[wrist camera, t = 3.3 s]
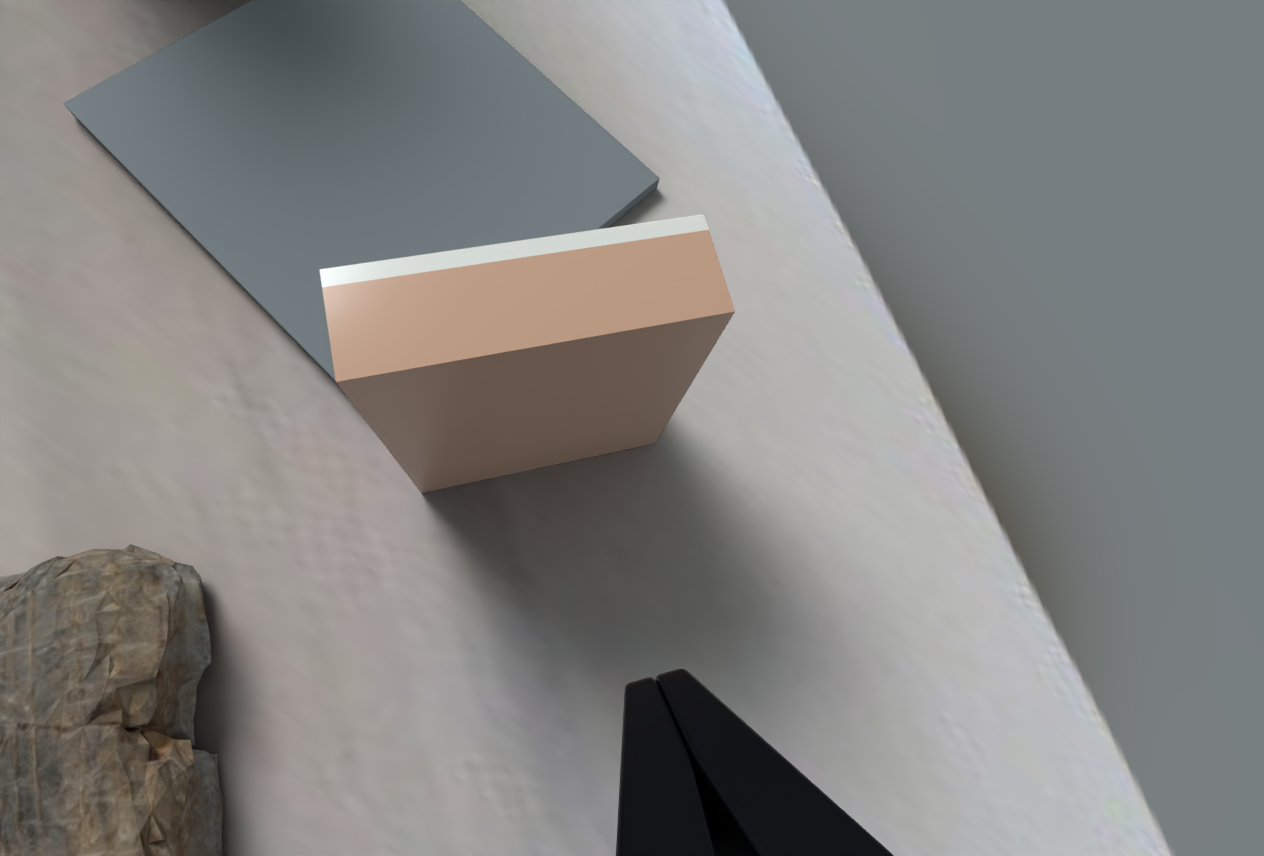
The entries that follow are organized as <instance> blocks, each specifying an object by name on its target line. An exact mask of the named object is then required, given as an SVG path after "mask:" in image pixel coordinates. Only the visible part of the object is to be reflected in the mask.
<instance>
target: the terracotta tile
mask: <svg viewBox="0 0 1264 856" xmlns="http://www.w3.org/2000/svg"><path fill="white" fill-rule="evenodd" d="M319 270H320V277H321V284H322V291H323V298H324V304H325V311H326V318H327V325H328V332H329V339H330V346H331V353H332V360H333V366H334V373H335V380H336V383H337V384H338V385H339V387H340V388H341V389H342V391H343V392H344V393H345V395H346V396H347V397H348V398H349V400H350V401H351V402H352V404H353V405H354V406H355V408H356V409H357V410H358V411H359V413H360V414H361V415H362V417H363V418H364V419H365V421H366V422H367V423H368V424H369V426H370V427H371V428H372V430H373V431H374V432H375V433H376V435H377V436H378V437H379V439H380V440H381V441H382V443H383V444H384V445H385V446H386V448H387V449H388V450H389V452H390V453H391V454H392V456H393V457H394V458H395V459H396V461H397V462H398V463H399V465H400V466H401V467H402V469H403V470H404V471H405V472H406V474H407V475H408V476H409V478H410V479H411V480H412V482H413V483H414V484H415V485H416V487H417V488H418V489H419V491H420V492H421V493H424V492H429V491H434V490H438V489H443V488H448V487H453V486H457V485H462V484H467V483H471V482H476V481H481V480H485V479H490V478H495V477H500V476H504V475H509V474H514V473H518V472H523V471H528V470H532V469H537V468H542V467H546V466H551V465H556V464H561V463H565V462H570V461H575V460H579V459H584V458H589V457H593V456H598V455H603V454H608V453H612V452H617V451H622V450H626V449H631V448H636V447H640V446H645V445H650V444H654V443H656V441H657V440H658V438H659V436H660V435H661V433H662V431H663V430H664V428H665V426H666V425H667V423H668V421H669V420H670V418H671V416H672V415H673V413H674V411H675V410H676V408H677V407H678V405H679V403H680V402H681V400H682V398H683V397H684V395H685V393H686V392H687V390H688V388H689V387H690V385H691V383H692V382H693V380H694V378H695V377H696V375H697V373H698V372H699V370H700V368H701V367H702V365H703V363H704V362H705V360H706V359H707V357H708V355H709V354H710V352H711V350H712V349H713V347H714V345H715V344H716V342H717V340H718V339H719V337H720V335H721V334H722V332H723V330H724V329H725V327H726V325H727V324H728V322H729V320H730V319H731V317H732V315H733V314H734V312H735V310H734V307H733V304H732V301H731V298H730V295H729V292H728V288H727V285H726V282H725V279H724V276H723V273H722V270H721V267H720V264H719V261H718V257H717V254H716V251H715V248H714V245H713V242H712V239H711V236H710V233H709V229H708V226H707V223H706V220H705V217H704V214H700V215H694V216H687V217H680V218H673V219H666V220H659V221H652V222H645V223H638V224H631V225H624V226H617V227H610V228H603V229H596V230H589V231H583V232H576V233H569V234H562V235H555V236H548V237H541V238H534V239H527V240H520V241H513V242H506V243H499V244H492V245H485V246H479V247H472V248H465V249H458V250H451V251H444V252H437V253H430V254H423V255H416V256H409V257H402V258H395V259H388V260H381V261H374V262H368V263H361V264H354V265H347V266H340V267H333V268H326V269H319Z"/></svg>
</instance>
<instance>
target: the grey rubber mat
mask: <svg viewBox="0 0 1264 856" xmlns="http://www.w3.org/2000/svg"><path fill="white" fill-rule="evenodd" d="M63 104H64V105H65V106H66V107H67V108H68V110H69V111H70V112H71V113H72V114H73V115H74V116H75V117H76V118H77V119H78V120H79V121H80V122H81V123H82V125H83V126H84V127H85V128H86V129H87V130H88V131H89V132H90V133H91V134H92V135H93V136H94V137H95V138H96V139H97V140H98V141H99V142H100V143H101V144H102V145H103V146H104V147H105V148H106V149H107V150H108V151H109V152H110V153H111V154H112V155H113V156H114V157H115V158H116V159H117V160H118V161H119V162H120V163H121V164H122V165H123V166H124V167H125V168H126V169H127V170H128V171H129V172H130V173H131V174H132V175H133V176H134V177H135V178H136V179H137V180H138V181H139V182H140V183H141V185H142V186H143V187H144V188H145V189H146V190H147V191H148V192H149V193H150V194H151V195H152V196H153V197H154V198H155V199H156V200H157V201H158V202H159V203H160V204H161V205H162V206H163V207H164V208H165V209H166V210H167V211H168V212H169V213H170V214H171V215H172V216H173V217H174V218H175V219H176V220H177V221H178V222H179V223H180V224H181V225H182V226H183V227H184V228H185V229H186V230H187V231H188V232H189V233H190V234H191V235H192V236H193V237H194V238H195V239H196V240H197V241H198V242H199V243H200V244H201V246H202V247H203V248H204V249H205V250H206V251H207V252H208V253H209V254H210V255H211V256H212V257H213V258H214V259H215V260H216V261H217V262H218V263H219V264H220V265H221V266H222V267H223V268H224V269H225V270H226V271H227V272H228V273H229V274H230V275H231V276H232V277H233V278H234V279H235V280H236V281H237V282H238V283H239V284H240V285H241V286H242V287H243V288H244V289H245V290H246V291H247V292H248V293H249V294H250V295H251V296H252V297H253V298H254V299H255V300H256V301H257V302H258V303H259V304H260V305H261V307H262V308H263V309H264V310H265V311H266V312H267V313H268V314H269V315H270V316H271V317H272V318H273V319H274V320H275V321H276V322H277V323H278V324H279V325H280V326H281V327H282V328H283V329H284V330H285V331H286V332H287V333H288V334H289V335H290V336H291V337H292V338H293V339H294V340H295V341H296V342H297V343H298V344H299V345H300V346H301V347H302V348H303V349H304V350H305V351H306V352H307V353H308V354H309V355H310V356H311V357H312V358H313V359H314V360H315V361H316V362H317V363H318V364H319V365H320V366H321V368H322V369H323V370H324V371H325V372H326V373H327V374H328V375H329V376H330V377H331V378H332V379H333V380H334V381H335V382H336V380H335V373H334V366H333V360H332V353H331V346H330V339H329V332H328V325H327V318H326V311H325V304H324V298H323V291H322V284H321V277H320V270H319V269H326V268H333V267H340V266H347V265H354V264H361V263H368V262H374V261H381V260H388V259H395V258H402V257H409V256H416V255H423V254H430V253H437V252H444V251H451V250H458V249H465V248H472V247H479V246H485V245H492V244H499V243H506V242H513V241H520V240H527V239H534V238H541V237H548V236H555V235H562V234H569V233H576V232H583V231H589V230H596V229H603V228H609V227H610V226H611V225H612V224H614V223H615V222H616V221H617V220H618V219H620V218H621V217H622V216H623V215H625V214H626V213H627V212H628V211H629V210H631V209H632V208H633V207H634V206H635V205H637V204H638V203H639V202H640V201H642V200H643V199H644V198H645V197H646V196H648V195H649V194H650V193H651V192H652V191H654V190H655V189H656V188H657V185H658V182H659V177H658V176H657V175H655V174H654V173H653V172H652V171H651V170H650V169H649V168H648V167H647V166H645V165H644V164H643V163H642V162H641V161H640V160H639V159H638V158H636V157H635V156H634V155H633V154H632V153H631V152H630V151H629V150H627V149H626V148H625V147H624V146H623V145H622V144H621V143H620V142H618V141H617V140H616V139H615V138H614V137H613V136H612V135H611V134H610V133H608V132H607V131H606V130H605V129H604V128H603V127H602V126H601V125H599V124H598V123H597V122H596V121H595V120H594V119H593V118H592V117H590V116H589V115H588V114H587V113H586V112H585V111H584V110H583V109H582V108H580V107H579V106H578V105H577V104H576V103H575V102H574V101H573V100H571V99H570V98H569V97H568V96H567V95H566V94H565V93H564V92H562V91H561V90H560V89H559V88H558V87H557V86H556V85H555V84H553V83H552V82H551V81H550V80H549V79H548V78H547V77H546V76H545V75H543V74H542V73H541V72H540V71H539V70H538V69H537V68H536V67H534V66H533V65H532V64H531V63H530V62H529V61H528V60H527V59H525V58H524V57H523V56H522V55H521V54H520V53H519V52H518V51H516V50H515V49H514V48H513V47H512V46H511V45H510V44H509V43H508V42H506V41H505V40H504V39H503V38H502V37H501V36H500V35H499V34H497V33H496V32H495V31H494V30H493V29H492V28H491V27H490V26H488V25H487V24H486V23H485V22H484V21H483V20H482V19H481V18H480V17H478V16H477V15H476V14H475V13H474V12H473V11H472V10H471V9H469V8H468V7H467V6H466V5H465V4H464V3H463V2H462V1H460V0H251V1H249V2H247V3H246V4H244V5H242V6H240V7H238V8H236V9H235V10H233V11H231V12H229V13H227V14H225V15H224V16H222V17H220V18H218V19H216V20H214V21H213V22H211V23H209V24H207V25H205V26H204V27H202V28H200V29H198V30H196V31H194V32H193V33H191V34H189V35H187V36H185V37H183V38H182V39H180V40H178V41H176V42H174V43H172V44H171V45H169V46H167V47H165V48H163V49H162V50H160V51H158V52H156V53H154V54H152V55H151V56H149V57H147V58H145V59H143V60H141V61H140V62H138V63H136V64H134V65H132V66H130V67H129V68H127V69H125V70H123V71H121V72H120V73H118V74H116V75H114V76H112V77H110V78H109V79H107V80H105V81H103V82H101V83H99V84H98V85H96V86H94V87H92V88H90V89H89V90H87V91H85V92H83V93H81V94H79V95H78V96H76V97H74V98H72V99H70V100H68V101H67V102H65V103H63Z"/></svg>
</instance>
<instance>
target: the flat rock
mask: <svg viewBox="0 0 1264 856" xmlns="http://www.w3.org/2000/svg"><path fill="white" fill-rule="evenodd" d="M210 663H211V638H210V633H209V628H208V623H207V619H206V613H205V605H204V597H203V589H202V581H201V577H200V575H199V574H198V573H197V571H196V570H195V569H194V568H193V566H189V565H184V564H180V563H176V562H174V561H172V560H170V559H168V558H166V557H164V556H162V555H159V554H157V553H154V552H151V551H148V550H145V549H143V548H140V547H137V546H134V545H131V544H130V545H129V546H128V547H127V548H126V549H124V550H115V549H92V550H89V551H86V552H82V553H79V554H76V555H72V556H69V557H59V556H57V557H54V558H52V559H50V560H47V561H45V562H43V563H40V564H38V565H37V566H35V567H33V568H31V569H29V571H28V572H24V573H20V574H15V575H11V576H6V577H0V856H222V820H223V810H224V802H223V797H222V793H221V788H220V783H219V775H218V755H217V754H209V753H208V752H206V751H204V750H195V749H192V747H193V746H194V745H195V738H194V723H193V720H194V714H195V708H196V694H197V686H198V683H199V681H200V679H201V677H202V674H203V672H204V670H205V669H206V668H207V667H208V665H209V664H210Z"/></svg>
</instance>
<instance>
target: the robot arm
mask: <svg viewBox="0 0 1264 856" xmlns="http://www.w3.org/2000/svg"><path fill="white" fill-rule="evenodd" d="M616 856H893V855H892V853H890V852H889V851H888V850H887V849H886V848H885V847H884V846H883V845H882V844H880V843H879V842H878V841H877V840H876V839H875V838H874V837H873V836H871V835H870V834H869V833H868V832H867V831H866V830H865V829H864V828H862V827H861V826H860V825H859V824H858V823H857V822H856V821H855V820H854V819H852V818H851V817H850V816H849V815H848V814H847V813H846V812H845V811H843V810H842V809H841V808H840V807H839V806H838V805H837V804H836V803H835V802H833V801H832V800H831V799H830V798H829V797H828V796H827V795H826V794H824V793H823V792H822V791H821V790H820V789H819V788H818V787H817V786H815V785H814V784H813V783H812V782H811V781H810V780H809V779H808V778H807V777H805V776H804V775H803V774H802V773H801V772H800V771H799V770H798V769H796V768H795V767H794V766H793V765H792V764H791V763H790V762H789V761H788V760H786V759H785V758H784V757H783V756H782V755H781V754H780V753H779V752H777V751H776V750H775V749H774V748H773V747H772V746H771V745H770V744H768V743H767V742H766V741H765V740H764V739H763V738H762V737H761V736H760V735H758V734H757V733H756V732H755V731H754V730H753V729H752V728H751V727H749V726H748V725H747V724H746V723H745V722H744V721H743V720H742V719H741V718H739V717H738V716H737V715H736V714H735V713H734V712H733V711H732V710H730V709H729V708H728V707H727V706H726V705H725V704H724V703H723V702H721V701H720V700H719V699H718V698H717V697H716V696H715V695H714V694H713V693H711V692H710V691H709V690H708V689H707V688H706V687H705V686H704V685H702V684H701V683H700V682H699V681H698V680H697V679H696V678H695V677H694V676H692V675H691V674H690V673H689V672H688V671H686V670H684V669H677V670H674V671H670V672H667V673H663V674H660V675H658V676H657V677H656V680H655V679H654V678H646V679H642V680H639V681H635V682H632V683H629V684H627V685H626V687H625V694H624V713H623V731H622V750H621V769H620V788H619V807H618V825H617V844H616Z"/></svg>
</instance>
